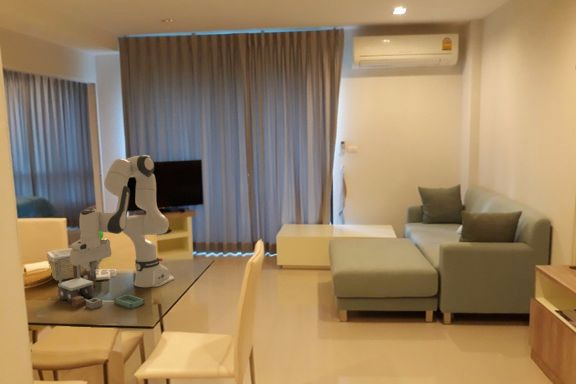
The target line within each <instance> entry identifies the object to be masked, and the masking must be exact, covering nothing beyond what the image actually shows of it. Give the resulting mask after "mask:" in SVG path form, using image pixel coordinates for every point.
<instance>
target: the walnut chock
mask: <svg viewBox="0 0 576 384" xmlns="http://www.w3.org/2000/svg"><path fill="white" fill-rule="evenodd" d="M84 298H85V296H82V295H78V296H76V297H73V298H72V303H71V307H73V308H75V309H79V308H82V307H85V303H84Z"/></svg>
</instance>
